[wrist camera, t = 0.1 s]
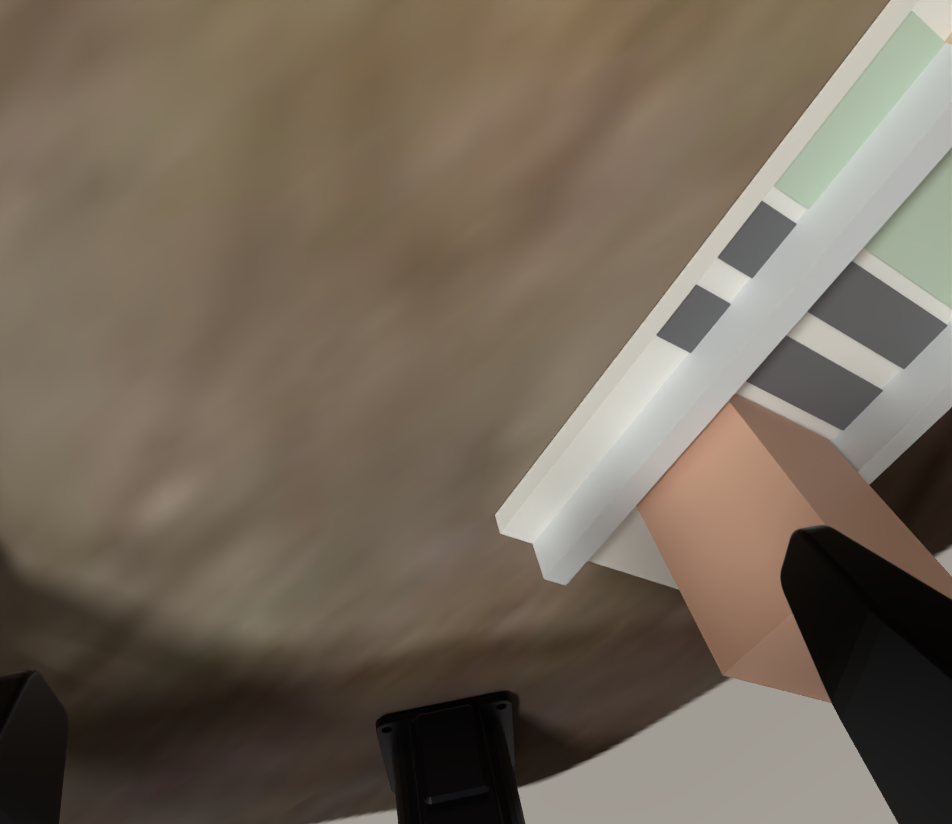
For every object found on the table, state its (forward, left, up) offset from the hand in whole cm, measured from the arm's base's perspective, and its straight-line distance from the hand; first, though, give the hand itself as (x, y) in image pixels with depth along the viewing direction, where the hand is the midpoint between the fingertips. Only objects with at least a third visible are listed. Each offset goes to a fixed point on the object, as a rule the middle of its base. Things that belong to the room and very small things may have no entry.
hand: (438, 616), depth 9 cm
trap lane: (-8, -14, -15) cm, 22 cm away
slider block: (-11, -12, -13) cm, 21 cm away
